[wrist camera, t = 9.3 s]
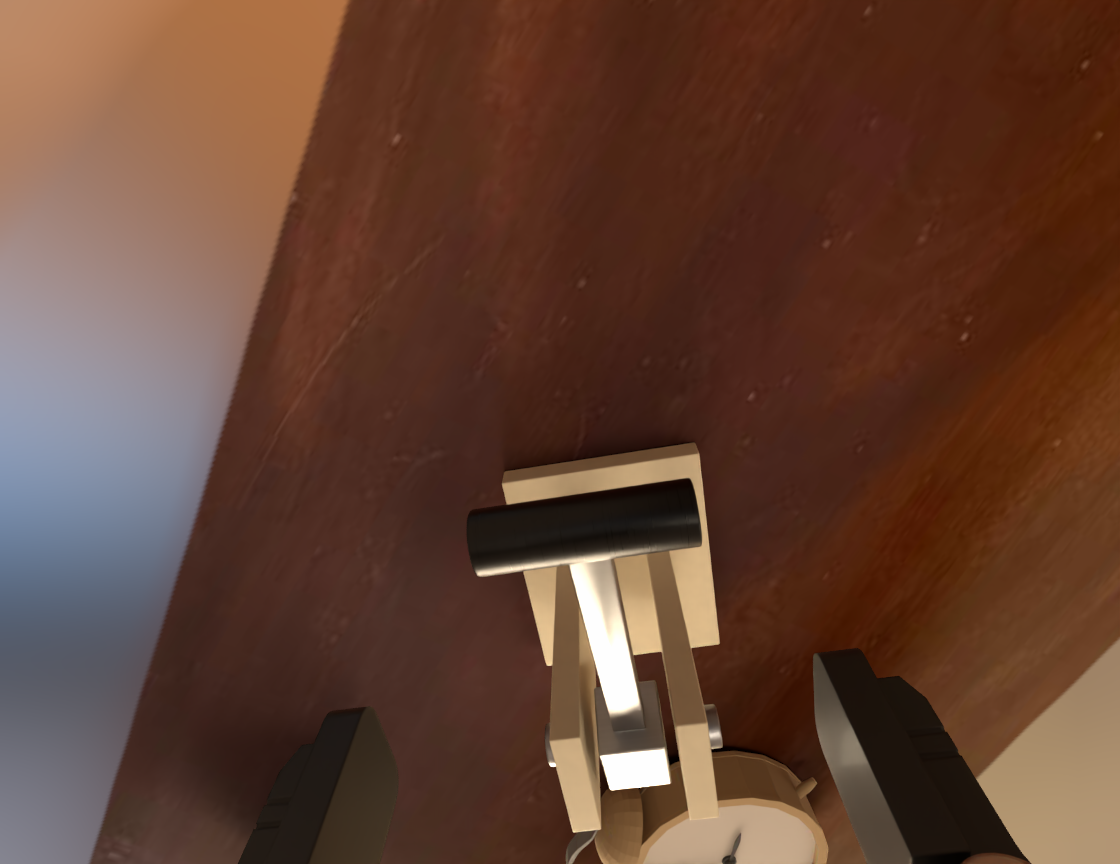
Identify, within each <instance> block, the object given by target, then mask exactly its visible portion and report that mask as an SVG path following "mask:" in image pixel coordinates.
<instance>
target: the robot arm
mask: <svg viewBox="0 0 1120 864" xmlns="http://www.w3.org/2000/svg"><path fill="white" fill-rule="evenodd" d="M813 675H814V704H815V721H816V727H817V732H818V736H819V740H820V744H821V747H822V750H823V753H824V756H825V758H826V761H827V763H828V766H829V769H830V771H831V774H832V776H833V779H834V781H835V784H836V786H837V789H838V791H839V794H840V796H841V799H842V801H843V804H844V806H845V809H846V811H847V814H848V816H849V819H850V822H851V824H852V827H853V829H854V832H855V834H856V837H857V839H858V842H859V844H860V847H861V849H862V852H863V854H864V857H865V859H866V862H867V864H1031V863H1030V862H1029V861H1028V859H1027V858H1026V857H1025V856H1024V855H1023V854H1022V852H1021V851H1020V850H1019V848H1018V847H1017V845H1016V844H1015V842H1014V841H1013V839H1012V837H1011V836H1010V834H1009V832H1008V831H1007V829H1006V827H1005V826H1004V824H1003V823H1002V821H1001V819H1000V818H999V816H998V814H997V813H996V812H995V810H994V808H993V806H992V805H991V803H990V801H989V800H988V798H987V797H986V795H985V793H984V792H983V790H982V788H981V787H980V785H979V783H978V782H977V780H976V779H975V777H974V775H973V774H972V772H971V770H970V769H969V767H968V765H967V764H966V762H965V761H964V759H963V757H962V756H960V755H959V753H958V749H957V748H956V746H955V744H954V743H953V741H952V739H951V738H950V736H949V734H948V733H947V732H945V730H944V726H943V725H942V723H941V721H940V720H939V718H938V717H937V715H936V713H935V712H934V710H933V708H932V707H931V705H930V703H929V702H928V700H927V699H926V698H925V697H924V696H923V695H922V694H920V693H919V692H918V691H917V690H916V689H914V688H913V687H912V686H911V685H909V684H908V683H907V682H906V681H905V680H903V679H902V678H901V677H900V676H895V677H886V678H878V679H877V677H876V676H875V674H874V672H873V670H872V668H871V667H870V665H869V663H868V661H867V659H866V657H865V656H864V654H863V652H862V651H861V650H860V649H858V648H854V649H846V650H838V651H830V652H821V653H815V654H814V656H813ZM397 793H398V770H397V765H396V762H395V759H394V756H393V754H392V751H391V749H390V746H389V744H388V741H387V739H386V736H385V734H384V731H383V729H382V726H381V724H380V721H379V719H378V716H377V714H376V712H375V710H374V709H373V708H372V707H370V706H369V707H361V708H353V709H345V710H336V711H331V712H329V713H328V714H327V715H326V717H325V719H324V721H323V723H322V726H321V728H320V730H319V733H318V735H317V738H316V740H315V742H314V744H306V745H302V746H301V747H300V748H299V749H298V750H297V751H296V753H295V754H294V755H293V756H292V757H291V759H290V760H289V761H288V762H287V763H286V764H285V766H284V767H283V768H282V769H281V770H280V772H279V774H278V776H277V779H276V781H275V783H274V785H273V787H272V790H271V792H270V794H269V796H268V798H267V805H264V807H263V810H262V812H261V814H260V816H259V818H258V821H257V823H256V824H257V827H256V829H253V832H252V834H251V836H250V838H249V840H248V843H247V845H246V847H245V849H244V851H243V854H242V856H241V858H240V860H239V862H238V864H380V861H381V857H382V853H383V849H384V845H385V842H386V838H387V834H388V830H389V826H390V822H391V819H392V815H393V811H394V807H395V803H396V799H397Z"/></svg>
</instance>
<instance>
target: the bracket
mask: <svg viewBox="0 0 1120 864" xmlns="http://www.w3.org/2000/svg"><path fill="white" fill-rule="evenodd" d="M683 478H690V479H691V481H692V483H693V486H694V490H695V494H696V499H697V504H698V509H699V515H700V522H701V530H702V546H700V547H695V548H688V549H680V550H673V551H666V552H659V553H652V554H644V555H637V556H630V557H623V558H616V559H614V561H615V566H616V571H617V576H618V581H619V586H620V591H621V596H622V601H623V606H624V611H625V616H626V621H627V626H628V631H629V636H630V641H631V646H632V651H633V655H637V654H645V653H653V652H661V651H662V656H663V662H664V668H665V674H666V680H667V686H668V692H669V698H670V704H671V710H672V716H673V722H674V728H675V734H676V740H677V746H678V752H679V758H680V764H681V770H682V776H683V782H684V788H685V794H686V800H687V807H688V813H689V818H690V820H697V819H706V818H716V817H719V809H718V801H717V793H716V785H715V777H714V769H713V761H712V753H711V749H716V748H722V747H723V741H722V734H721V728H720V723H719V718H718V713H717V709H716V706H715V705H714V704H709V705H704V704H703V700H702V695H701V691H700V686H699V682H698V677H697V673H696V668H695V664H694V659H693V655H692V650H691V648H693V647H701V646H709V645H717V644H720V641H719V631H718V622H717V613H716V604H715V594H714V585H713V576H712V567H711V558H710V548H709V539H708V530H707V521H706V511H705V502H704V493H703V484H702V474H701V465H700V456H699V452H698V449H697V447H696V444H695V443H688V444H681V445H675V446H668V447H662V448H655V449H648V450H642V451H635V452H629V453H622V454H616V455H609V456H603V457H596V458H590V459H583V460H577V461H570V462H564V463H557V464H550V465H544V466H537V467H531V468H524V469H518V470H511V471H505V472H504V476H503V480H502V487H503V491H504V495H505V499H506V503H507V504H514V503H521V502H528V501H534V500H541V499H548V498H555V497H561V496H568V495H575V494H582V493H588V492H595V491H602V490H608V489H615V488H622V487H629V486H635V485H642V484H649V483H656V482H662V481H669V480H676V479H683ZM523 572H524V576H525V580H526V584H527V588H528V592H529V596H530V601H531V605H532V609H533V613H534V617H535V621H536V625H537V629H538V633H539V637H540V641H541V645H542V649H543V653H544V657H545V661H546V665H547V666H550V665H552V689H551V713H550V723H548V724H546V728H545V746H546V754H547V759H548V763H549V765H550V766H551V767H555V766H556V769H557V773H558V776H559V780H560V784H561V788H562V792H563V796H564V800H565V803H566V807H567V811H568V815H569V819H570V823H571V827H572V830H573V832H581V831H591V830H600V829H601V803H600V776H599V754H598V740H597V726H596V712H595V699H594V688H596V671H595V662H594V659H593V655H592V651H591V648H590V644H589V640H588V637H587V633H586V629H585V626H584V622H583V618H582V615H581V611H580V607H579V604H578V600H577V596H576V593H575V589H574V585H573V582H572V578H571V574H570V570H569V567H568V565H565V566H558V567H551V568H544V569H536V570H529V571H523Z"/></svg>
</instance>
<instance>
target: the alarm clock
mask: <svg viewBox="0 0 1120 864" xmlns="http://www.w3.org/2000/svg"><path fill="white" fill-rule="evenodd" d="M712 761H713V769H714V777H715V785H716V793H717V801H718V809H719V817H716V818H706V819H697V820H690V818H689V813H688V807H687V800H686V794H685V788H684V782H683V776H682V770H681V764H680V761H679V762H675V763H674V764H672V765H670V773H671V780H672V782H671V783H670V784H663V785H654V786H645V787H641V788H640V789H638V787H635V788H626V789H617V790H610V789H609V788H608V789H607V790H606V791H605V793H604V794H603V796H602V797H601V799H600V803H601V829H600V830H591V831H581V832H578V833H577V834H576V835H575V836H574V837H573V839H572V840H571V841H570V843H569V845H568V847H567V852H566V864H573V861H574V860H575V858H576V856H577V855H578V853H579V852H580V851H581V850H582V849H583V848H584V847H585V846H587V845H588V844H589V843H590V842H591V841H592V840H593V838H594V837H595V844H596V848H597V852H598V854H599V857H600V859H601V860H602V862H603V864H826V861H827V855H828V846H827V843H826V840H825V837H824V834H823V831H822V828H821V826H820V824H819V823H818V821H817V819H816V817H815V815H814V812H813V810H812V808H811V806H810V803H809V801H808V799H807V797H806V795H807V794H808V793H809V792H811V790H812V789H813V788H814V787H815V786H816V784H817V782H816V780H815V779H814V778H813V777H811V778H809V779H807V780H805V781H803V782H801V781H800V780H799V779H798V778H797V777H796V776H795V775H794V774H793V773H792V772H791V771H790V770H789V769H788V768H787V767H786V766H785V765H783V764H781V763H779V762H777V761H775V760H773V759H770V758H768V757H766V756H764V755H760V754H753V753H747V752H741V751H724V752H713V753H712Z"/></svg>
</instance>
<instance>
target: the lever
mask: <svg viewBox="0 0 1120 864" xmlns="http://www.w3.org/2000/svg"><path fill="white" fill-rule="evenodd" d="M467 544H468V551H469V556H470V560H471V564H472V567H473V569H474V571H475V573H476V575H477V576H479V577H486V576H493V575H500V574H508V573H515V572H522V571H529V570H536V569H544V568H551V567H558V566H565V565H568V567H569V570H570V574H571V578H572V582H573V585H574V589H575V593H576V596H577V600H578V604H579V607H580V611H581V615H582V618H583V622H584V626H585V629H586V633H587V637H588V640H589V644H590V648H591V651H592V655H593V659H594V662H595V666H596V670H597V674H598V677H599V681H600V685H601V687H596V688H594V699H595V712H596V726H597V740H598V754H599V757H600V760H601V764H602V767H603V770H604V773H605V776H606V779H607V783H608V786H609V789H610V790H617V789H626V788H635V787H645V786H654V785H663V784H670V783H671V782H672V780H671V773H670V766H669V760H668V753H667V746H666V740H665V733H664V727H663V720H662V714H661V708H660V702H659V696H658V690H657V684H656V681H654V680H653V681H645V682H639V681H638V676H637V671H636V666H635V661H634V656H633V651H632V646H631V641H630V636H629V631H628V626H627V621H626V616H625V611H624V606H623V601H622V596H621V591H620V586H619V581H618V576H617V571H616V566H615V561H614V559H616V558H623V557H630V556H637V555H644V554H652V553H659V552H666V551H673V550H680V549H688V548H695V547H700V546H702V530H701V522H700V515H699V509H698V504H697V499H696V494H695V490H694V486H693V483H692V481H691V479H690V478H683V479H676V480H669V481H662V482H656V483H649V484H642V485H635V486H629V487H622V488H615V489H608V490H602V491H595V492H588V493H582V494H575V495H568V496H561V497H555V498H548V499H541V500H534V501H528V502H521V503H514V504H507V505H501V506H494V507H487V508H480V509H474V510H471V511H470V512H469V515H468V519H467Z"/></svg>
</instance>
